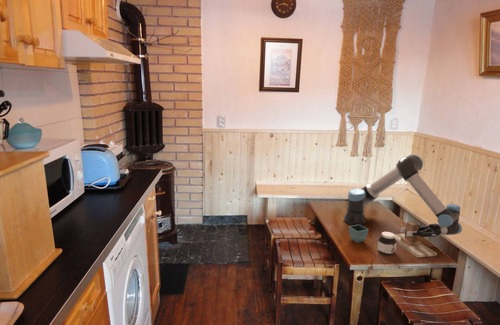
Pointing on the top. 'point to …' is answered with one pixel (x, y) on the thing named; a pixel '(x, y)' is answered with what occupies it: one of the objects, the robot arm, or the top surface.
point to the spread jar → (387, 243)
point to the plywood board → (415, 247)
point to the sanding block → (411, 239)
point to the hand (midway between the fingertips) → (404, 232)
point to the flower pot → (358, 233)
